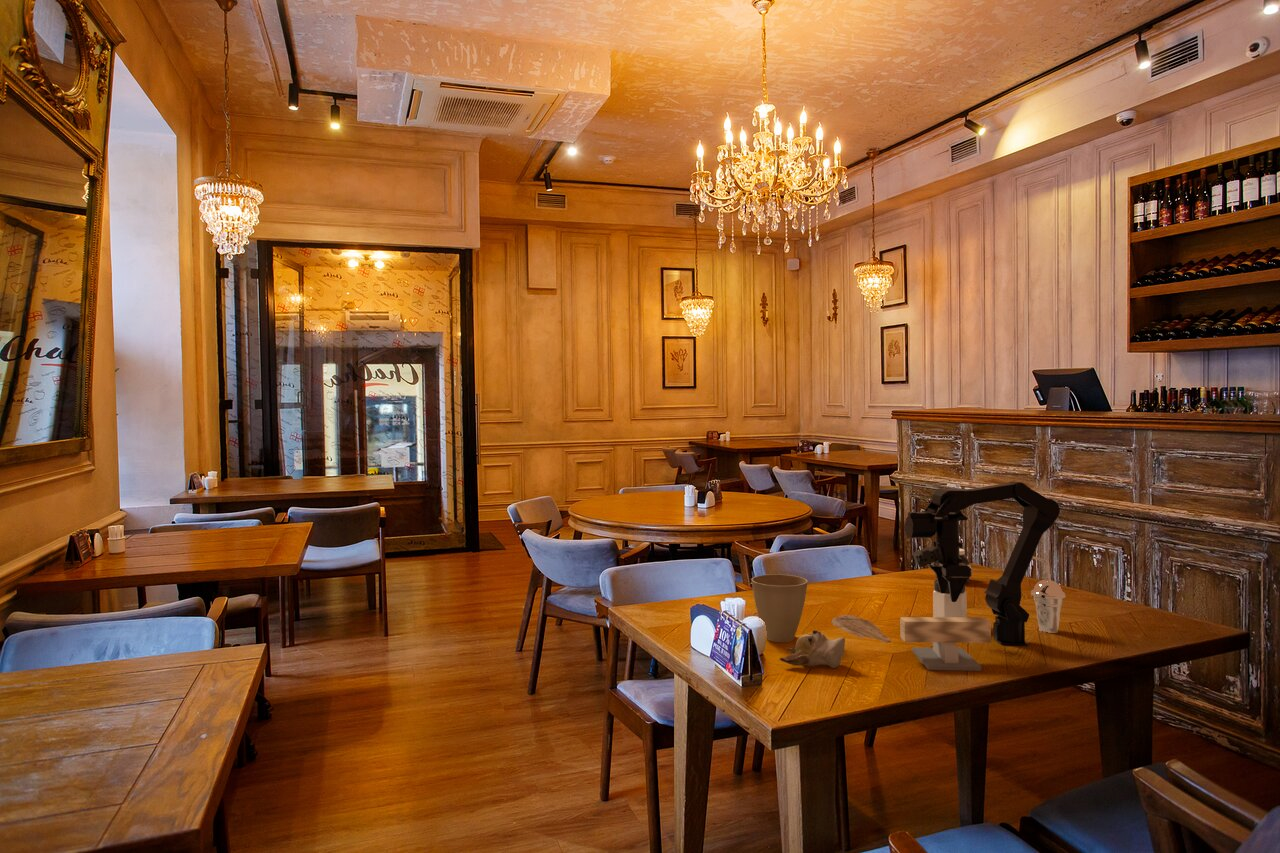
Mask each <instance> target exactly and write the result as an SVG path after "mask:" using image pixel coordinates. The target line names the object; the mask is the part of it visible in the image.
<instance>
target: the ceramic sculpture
mask: <svg viewBox="0 0 1280 853" xmlns="http://www.w3.org/2000/svg"><path fill="white" fill-rule="evenodd" d="M795 642H796V643H795V647H793V648H792V647H786V650H787V651H788V652H790V653H791V654H788V655H786V657H780V658H779V660H780V661H782V662H783V663H786V664H789V665H791V666H797V667H799V666H803V665H804V666H807V667H809V666H810V667H817V666H820V665H828V666H830V668H832V669H836V668H838V667H839V666H840V664H841V660H842V657H843V656H844V654H845V647H846V646H845V644H846V643H845V642H846V638H845V637H839V638H835V639H829V638H827V637H826V636H825V634H824V633H822V632H821V631H819V630H815V629H814V630H812V633H811V634H803V635H802V636H800V637H799V638H797V640H796V641H795Z"/></svg>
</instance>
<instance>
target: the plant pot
mask: <svg viewBox="0 0 1280 853" xmlns="http://www.w3.org/2000/svg"><path fill="white" fill-rule="evenodd" d="M750 579H751V584H752V585H751V587H752V593H753V599H754V604H755V607H756V608H755V609H756V612H757V616H758V619H759V618H761V619H762V620H763V621H764V622H765V625H766V631H767V639H766V640H768V641H770V642H774V643H788V642H792V641H793V640H794V639H795V637H796V633H797V630H798V628H799V626H800V622H801V618H802V614H803V611H804V606H805V602H806V598H807V597H806V596H807V591H808V590H807V589H808V583H809V582H808V579H806V578H804V577H801V576H797V575H792V574H779V573H777V574H775V573H771V574H770V573H769V574H761V575H756V576H753V577H752V578H750Z"/></svg>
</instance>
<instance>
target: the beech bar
mask: <svg viewBox="0 0 1280 853" xmlns="http://www.w3.org/2000/svg"><path fill="white" fill-rule="evenodd" d="M899 620H900V621H899V622H900V624H899V626H900V632H899V633H900V639H901V640H902V641H903V642H904V643H933V642H942V643H955V644H957V643H959V644H960V643H961V644H962V643H963V644H964V643H968V644H969V643H972V644H974V643H977V644H979V643H980V644H981V643H982V644H983V643H985V644H986V643H987V644H991V643H992V634H991V633H992V627H991V626H992V625H991V623H992V622H991V621H990V620H989V619H988V618H986V617H984V616H983V617H982V616H981V617H980V616H977V617H972V616H971V617H970V616H969V617H968V616H967V617H933V616H931V617H927V616H926V617H925V616H924V617H923V616H922V617H920V616H916V617H915V616H911V617H909V616H901V617H900V618H899Z"/></svg>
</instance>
